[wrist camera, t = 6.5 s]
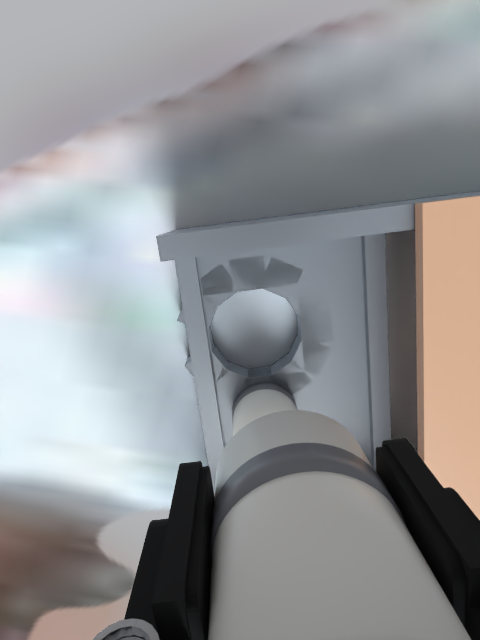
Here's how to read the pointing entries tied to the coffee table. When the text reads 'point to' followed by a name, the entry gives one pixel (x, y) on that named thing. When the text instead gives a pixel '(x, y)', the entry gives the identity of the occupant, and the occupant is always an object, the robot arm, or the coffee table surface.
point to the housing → (311, 311)
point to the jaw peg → (314, 542)
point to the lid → (449, 342)
